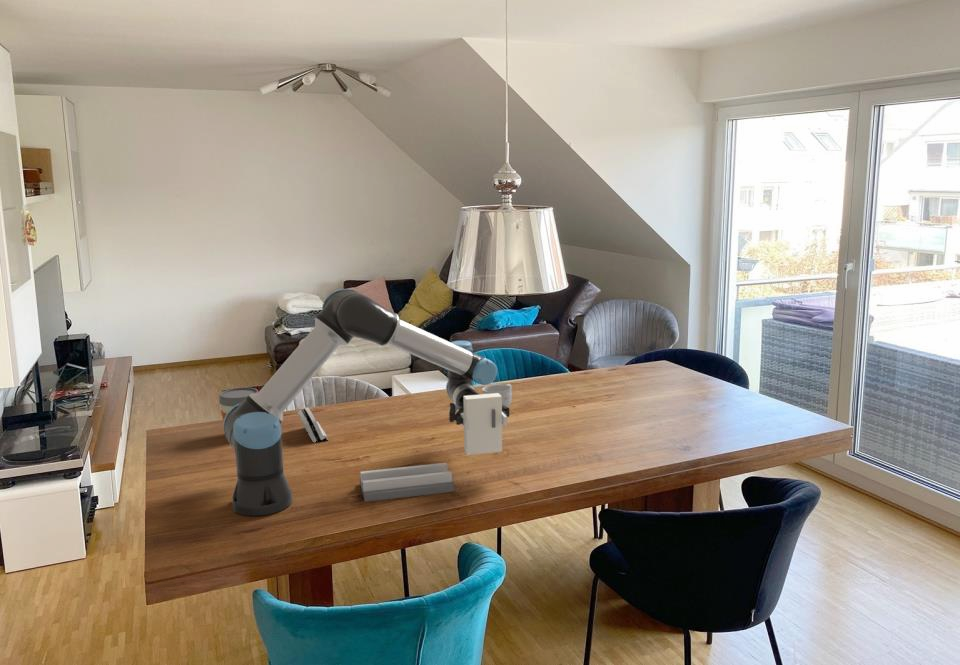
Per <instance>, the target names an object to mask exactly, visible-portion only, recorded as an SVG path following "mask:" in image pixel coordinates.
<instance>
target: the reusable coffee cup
mask: <svg viewBox="0 0 960 665" xmlns="http://www.w3.org/2000/svg"><path fill="white" fill-rule="evenodd" d="M258 392H259V390H258V389H257V388H254V387H247V386H246V387H234V388H229V389H226V390H223V391H221V392H220V393H219V404H220V407H221V411H220V412H221V416H222V421H223V422H222V423H224V419H225V416H226V414H227V413H228V411H229V410H230V409H231V408H232V407H234V406H235V405H237V404H240V403H243V401H244V400H245V399H246V398H247V397H248V396H249V394H255V393H258Z"/></svg>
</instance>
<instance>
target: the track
mask: <svg viewBox="0 0 960 665" xmlns="http://www.w3.org/2000/svg"><path fill="white" fill-rule="evenodd" d="M359 476H360V477H359V484H360V488H361V492H362V497H363V499H364V500H363V501H364V502H365V503H369V502H374V501H375V502H376V501H384V500H392V499H401V498H411V497H419V496H428V495H435V494H445V493H454V492H455V488H454V487H455V485H454V482H453V472H452V470H451V471H450V470H449V471H448V464H447V462H440V463H439V462H438V463H429V464H419V465H411V466H402V467H401V466H400V467H393V468H391V467H390V468H383V469H382V468H381V469H373V470H365V471H363V470H362V471H360V475H359Z"/></svg>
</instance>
